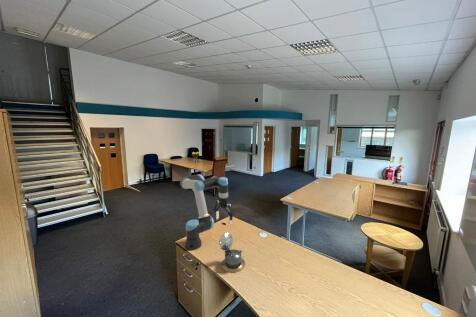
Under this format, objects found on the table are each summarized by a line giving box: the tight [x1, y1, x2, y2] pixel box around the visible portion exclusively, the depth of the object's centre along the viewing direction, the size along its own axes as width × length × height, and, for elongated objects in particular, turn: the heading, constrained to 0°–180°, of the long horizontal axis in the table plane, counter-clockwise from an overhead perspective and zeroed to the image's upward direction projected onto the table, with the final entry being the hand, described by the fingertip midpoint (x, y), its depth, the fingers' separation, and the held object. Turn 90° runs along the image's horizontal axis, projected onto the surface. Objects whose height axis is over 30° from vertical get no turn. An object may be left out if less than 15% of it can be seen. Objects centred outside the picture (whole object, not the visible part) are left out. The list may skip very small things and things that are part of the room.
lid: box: [218, 232, 234, 253], centre depth 172 cm, size 14×14×2 cm
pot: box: [220, 248, 246, 274], centre depth 167 cm, size 19×19×9 cm
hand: (223, 221), depth 171 cm, fingers open, 13 cm apart
